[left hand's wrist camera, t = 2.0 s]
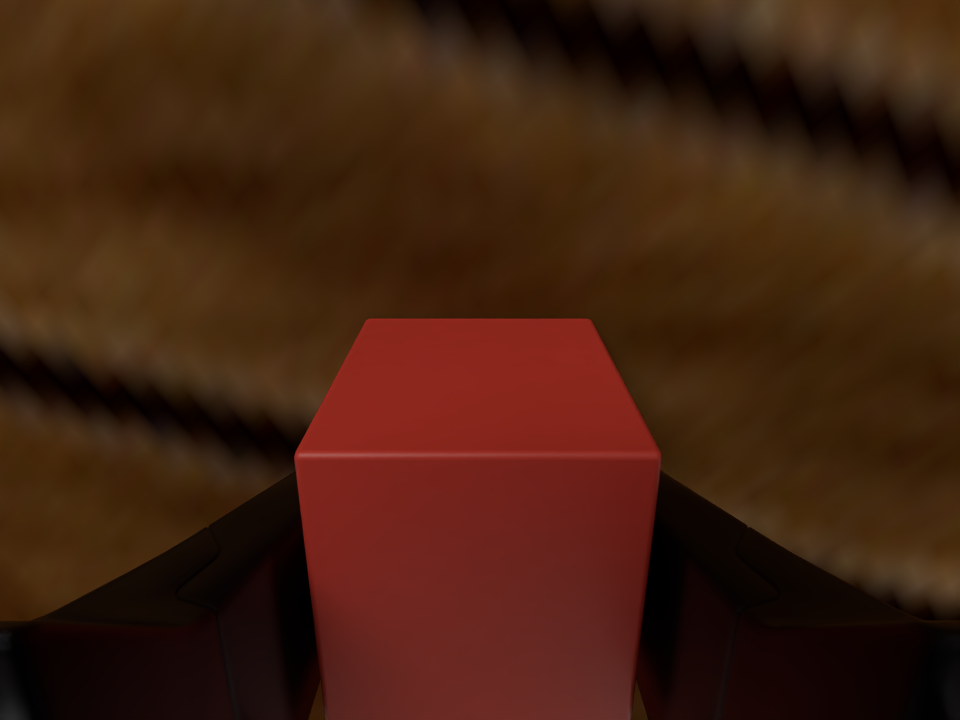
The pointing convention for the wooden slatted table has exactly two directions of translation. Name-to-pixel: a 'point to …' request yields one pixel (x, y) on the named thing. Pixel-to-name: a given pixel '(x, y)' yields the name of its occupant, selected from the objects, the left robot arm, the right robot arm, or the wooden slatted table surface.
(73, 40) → the wooden slatted table surface
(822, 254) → the wooden slatted table surface
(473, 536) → the block
